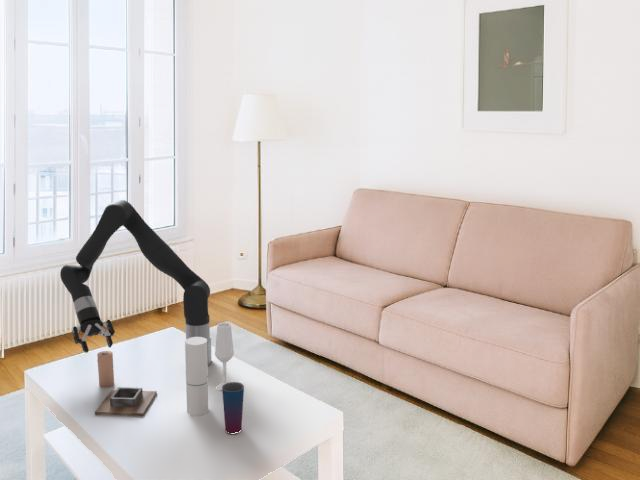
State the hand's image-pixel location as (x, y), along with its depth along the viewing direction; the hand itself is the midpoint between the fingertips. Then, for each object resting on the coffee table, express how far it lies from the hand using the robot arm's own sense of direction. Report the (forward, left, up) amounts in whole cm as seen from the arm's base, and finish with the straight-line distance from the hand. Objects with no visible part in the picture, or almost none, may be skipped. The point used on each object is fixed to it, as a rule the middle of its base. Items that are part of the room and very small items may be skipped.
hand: (99, 349), depth 232 cm
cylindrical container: (-41, +22, -12) cm, 48 cm away
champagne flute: (-47, +4, -12) cm, 49 cm away
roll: (-4, +5, -12) cm, 13 cm away
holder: (-16, +19, -12) cm, 27 cm away
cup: (-55, +34, -12) cm, 66 cm away
